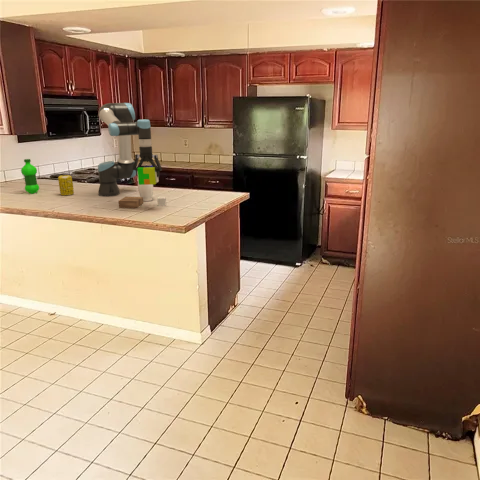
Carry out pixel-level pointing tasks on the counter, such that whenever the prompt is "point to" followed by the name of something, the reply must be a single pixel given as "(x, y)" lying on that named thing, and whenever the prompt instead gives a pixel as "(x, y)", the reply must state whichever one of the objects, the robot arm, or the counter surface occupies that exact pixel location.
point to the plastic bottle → (30, 177)
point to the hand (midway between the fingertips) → (148, 181)
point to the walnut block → (130, 202)
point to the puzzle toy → (146, 175)
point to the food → (66, 185)
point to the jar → (145, 191)
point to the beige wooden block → (161, 201)
